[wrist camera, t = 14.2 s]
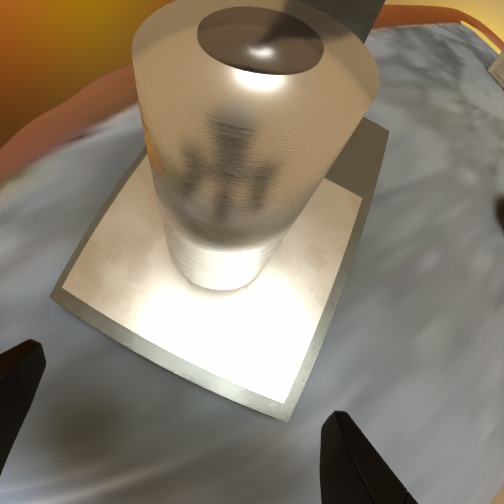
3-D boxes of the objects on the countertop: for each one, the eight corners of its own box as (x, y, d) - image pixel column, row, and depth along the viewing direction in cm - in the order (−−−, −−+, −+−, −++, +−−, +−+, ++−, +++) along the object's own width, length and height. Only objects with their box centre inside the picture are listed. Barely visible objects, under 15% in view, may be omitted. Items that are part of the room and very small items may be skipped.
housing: (284, 276, 18) (424, 122, 6) (179, 300, 17) (135, 143, 5) (256, 185, 20) (323, -7, 8) (160, 202, 19) (131, -5, 6)
